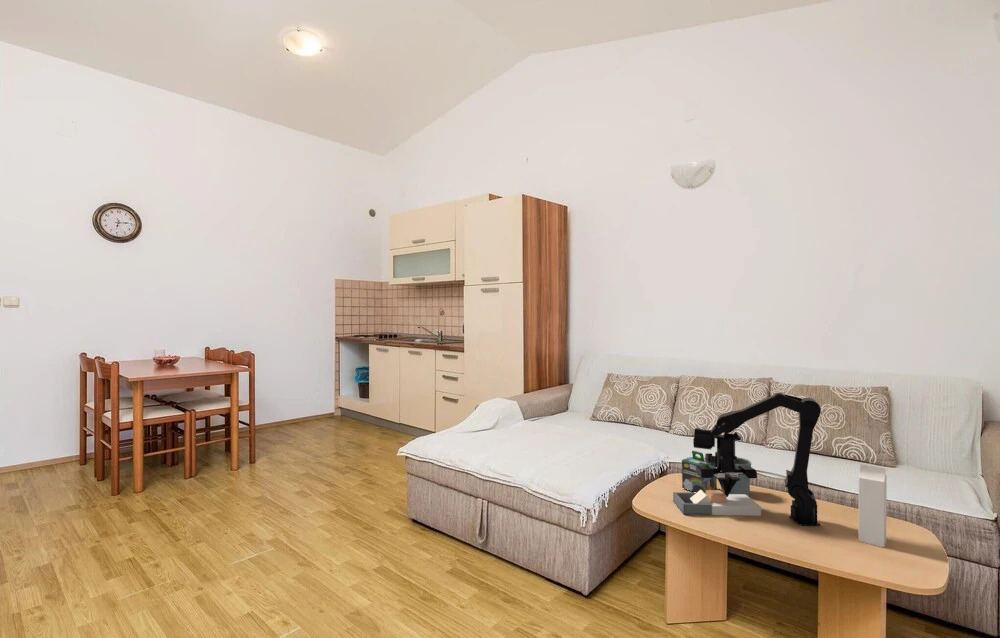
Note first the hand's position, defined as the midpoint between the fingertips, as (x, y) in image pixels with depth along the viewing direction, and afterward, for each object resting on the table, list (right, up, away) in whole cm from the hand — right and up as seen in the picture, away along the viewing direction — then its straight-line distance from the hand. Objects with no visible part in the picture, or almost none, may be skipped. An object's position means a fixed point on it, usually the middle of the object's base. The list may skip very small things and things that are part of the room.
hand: (725, 496), depth 167 cm
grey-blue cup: (+11, -4, +16) cm, 20 cm away
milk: (+32, -4, -24) cm, 40 cm away
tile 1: (-8, -2, 0) cm, 8 cm away
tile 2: (-3, -1, 0) cm, 4 cm away
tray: (-12, -4, 0) cm, 12 cm away
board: (+1, -4, 0) cm, 4 cm away
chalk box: (-2, -4, +18) cm, 19 cm away
